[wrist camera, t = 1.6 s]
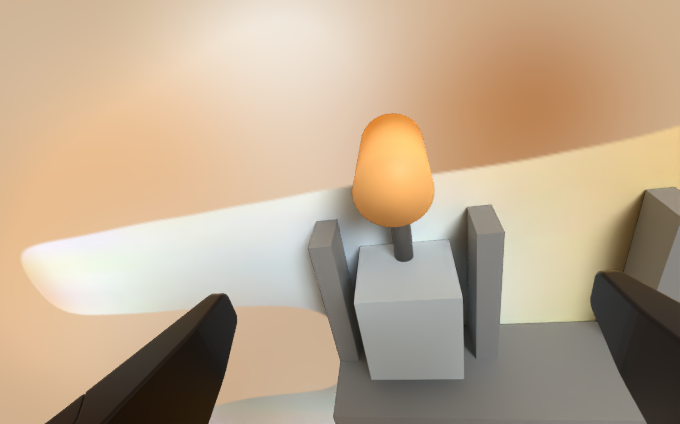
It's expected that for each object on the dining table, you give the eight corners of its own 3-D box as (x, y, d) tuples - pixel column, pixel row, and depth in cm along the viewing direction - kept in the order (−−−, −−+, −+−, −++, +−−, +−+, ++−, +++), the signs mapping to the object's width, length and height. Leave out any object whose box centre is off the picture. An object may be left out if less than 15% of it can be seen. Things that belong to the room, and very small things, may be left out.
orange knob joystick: (451, 314, 23) (465, 387, 19) (374, 317, 24) (371, 388, 20) (443, 105, 16) (462, 146, 12) (335, 121, 17) (318, 165, 13)
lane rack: (628, 333, 22) (699, 436, 17) (347, 341, 25) (337, 428, 20) (674, 187, 17) (796, 271, 12) (316, 221, 20) (292, 298, 15)
